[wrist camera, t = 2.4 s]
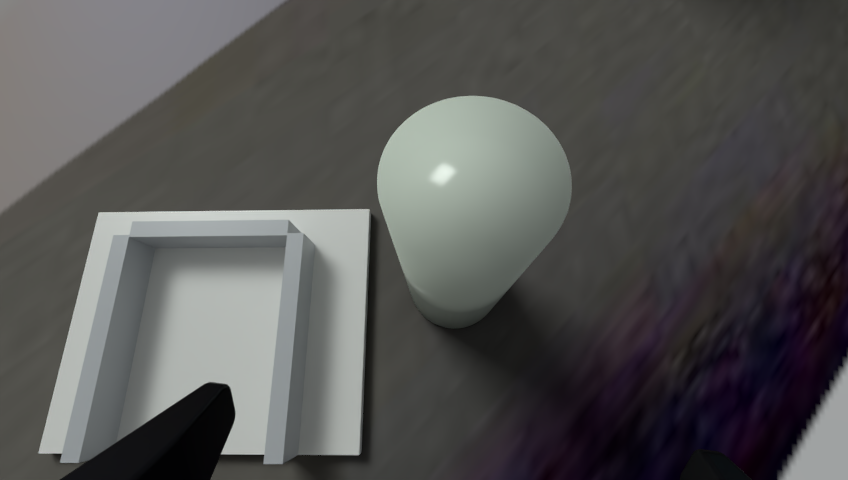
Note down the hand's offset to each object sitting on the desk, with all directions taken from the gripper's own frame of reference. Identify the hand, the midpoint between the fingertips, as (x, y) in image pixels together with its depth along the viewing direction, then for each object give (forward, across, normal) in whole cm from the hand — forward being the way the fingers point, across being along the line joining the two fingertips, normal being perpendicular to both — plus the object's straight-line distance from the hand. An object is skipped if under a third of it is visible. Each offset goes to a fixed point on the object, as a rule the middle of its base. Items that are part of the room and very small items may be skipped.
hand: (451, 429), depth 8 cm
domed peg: (+13, 0, +5) cm, 14 cm away
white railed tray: (+10, +12, +8) cm, 17 cm away
